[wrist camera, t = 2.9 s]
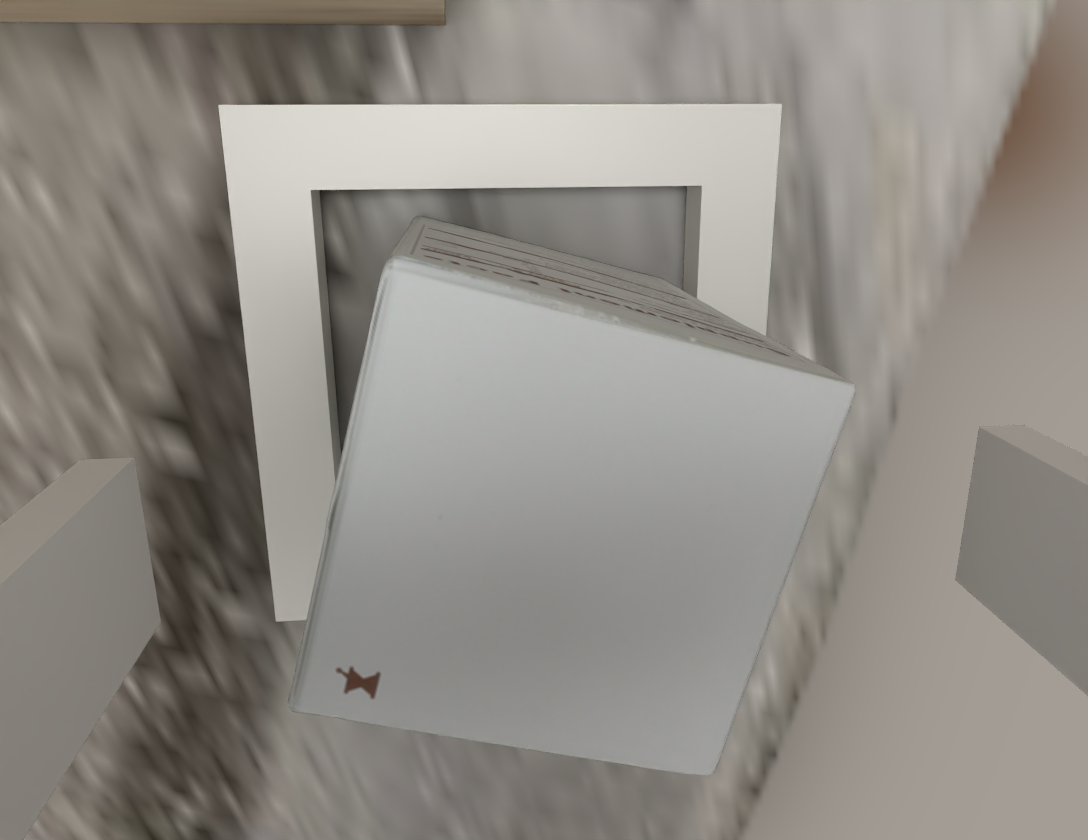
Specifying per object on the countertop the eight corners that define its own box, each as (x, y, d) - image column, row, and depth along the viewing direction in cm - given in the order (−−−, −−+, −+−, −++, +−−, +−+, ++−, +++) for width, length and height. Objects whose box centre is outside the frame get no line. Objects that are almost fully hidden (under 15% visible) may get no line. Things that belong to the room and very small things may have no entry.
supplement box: (595, 507, 26) (714, 799, 14) (355, 453, 25) (266, 724, 13) (668, 274, 25) (878, 386, 12) (414, 203, 23) (374, 250, 11)
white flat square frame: (732, 571, 27) (748, 594, 26) (285, 596, 26) (275, 621, 25) (761, 107, 23) (781, 103, 22) (233, 108, 22) (218, 105, 21)
